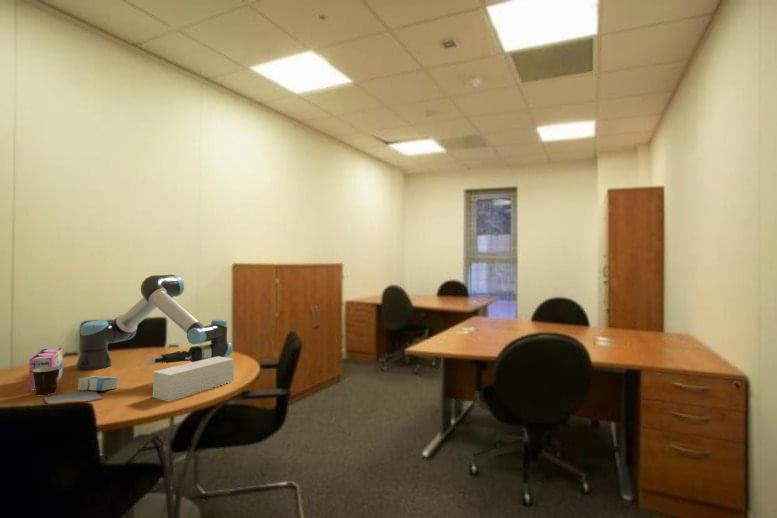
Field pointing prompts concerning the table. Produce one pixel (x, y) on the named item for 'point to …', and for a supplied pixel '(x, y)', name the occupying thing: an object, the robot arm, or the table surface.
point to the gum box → (45, 363)
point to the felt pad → (75, 397)
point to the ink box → (97, 383)
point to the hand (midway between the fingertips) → (146, 361)
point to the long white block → (192, 378)
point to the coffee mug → (46, 380)
